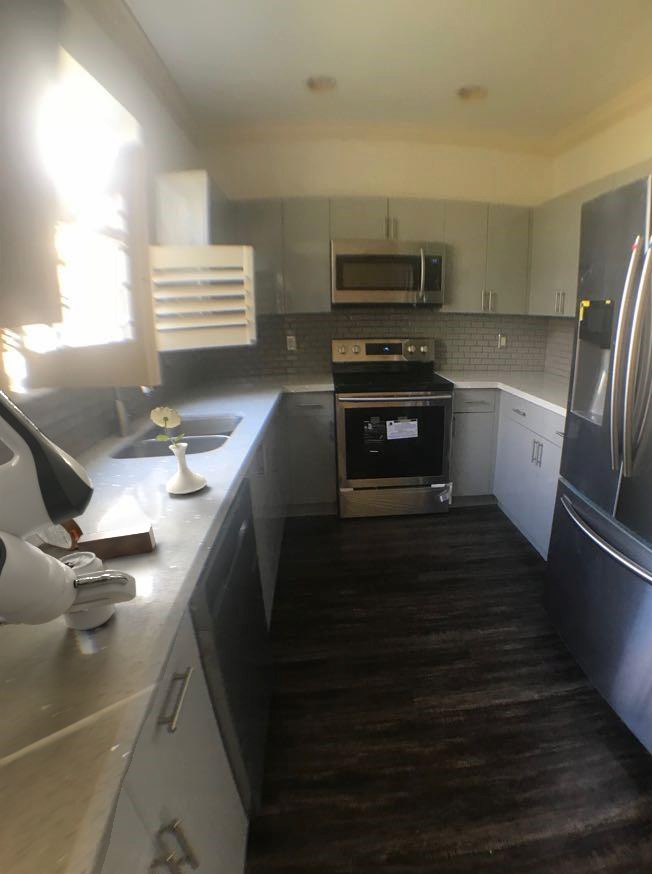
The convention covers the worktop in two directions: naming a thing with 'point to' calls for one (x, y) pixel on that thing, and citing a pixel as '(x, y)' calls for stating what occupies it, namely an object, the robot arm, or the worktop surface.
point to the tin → (62, 535)
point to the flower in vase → (177, 454)
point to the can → (93, 616)
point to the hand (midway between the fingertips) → (78, 607)
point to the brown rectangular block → (118, 542)
